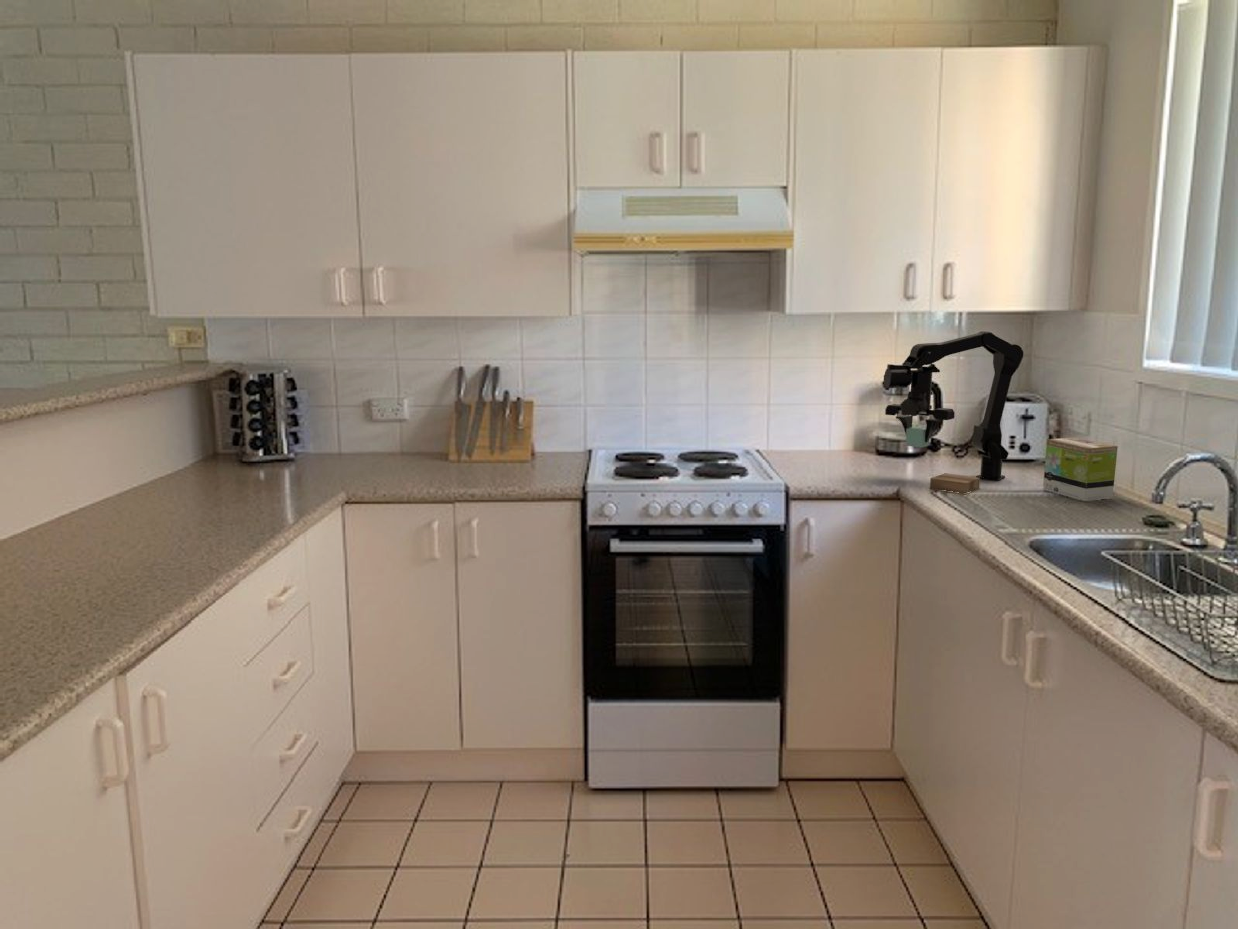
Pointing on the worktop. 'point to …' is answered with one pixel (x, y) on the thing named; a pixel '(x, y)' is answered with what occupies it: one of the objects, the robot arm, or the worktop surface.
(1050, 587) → the worktop surface
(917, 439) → the teal cube
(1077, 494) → the tea box
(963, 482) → the walnut block
